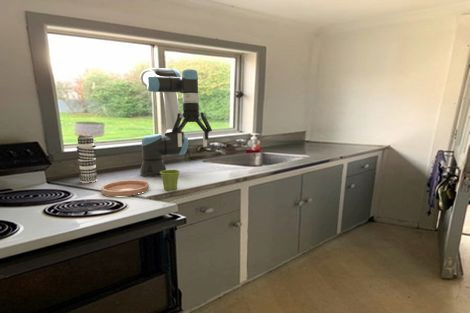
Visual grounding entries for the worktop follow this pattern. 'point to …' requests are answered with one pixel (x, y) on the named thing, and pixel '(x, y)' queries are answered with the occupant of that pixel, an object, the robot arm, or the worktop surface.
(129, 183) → the saucer
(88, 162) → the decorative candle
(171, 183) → the plant pot
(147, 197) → the worktop surface
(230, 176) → the worktop surface
